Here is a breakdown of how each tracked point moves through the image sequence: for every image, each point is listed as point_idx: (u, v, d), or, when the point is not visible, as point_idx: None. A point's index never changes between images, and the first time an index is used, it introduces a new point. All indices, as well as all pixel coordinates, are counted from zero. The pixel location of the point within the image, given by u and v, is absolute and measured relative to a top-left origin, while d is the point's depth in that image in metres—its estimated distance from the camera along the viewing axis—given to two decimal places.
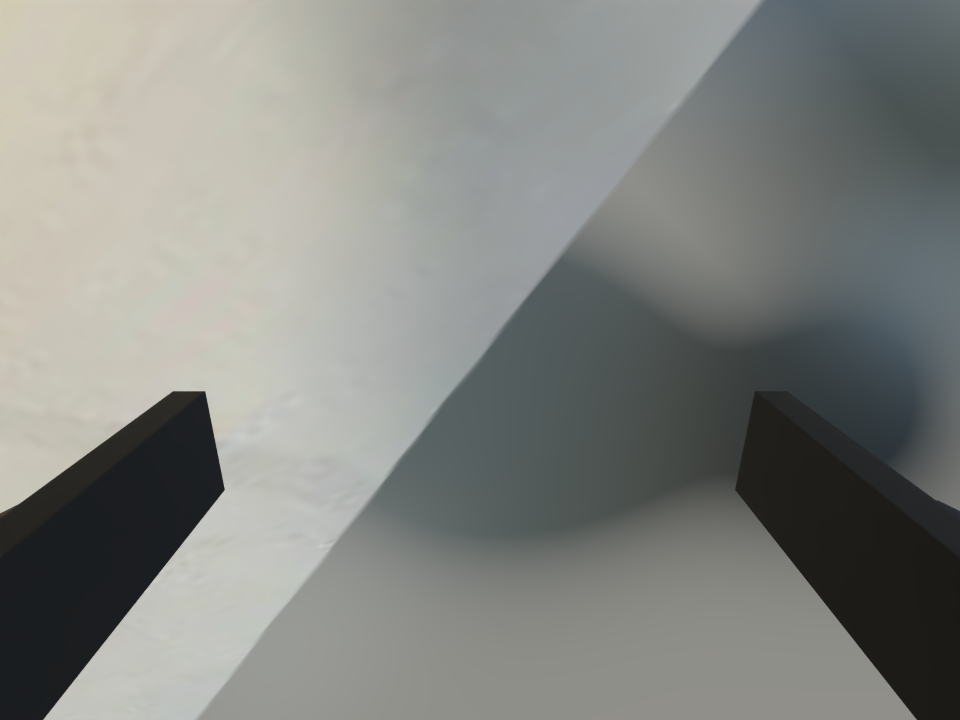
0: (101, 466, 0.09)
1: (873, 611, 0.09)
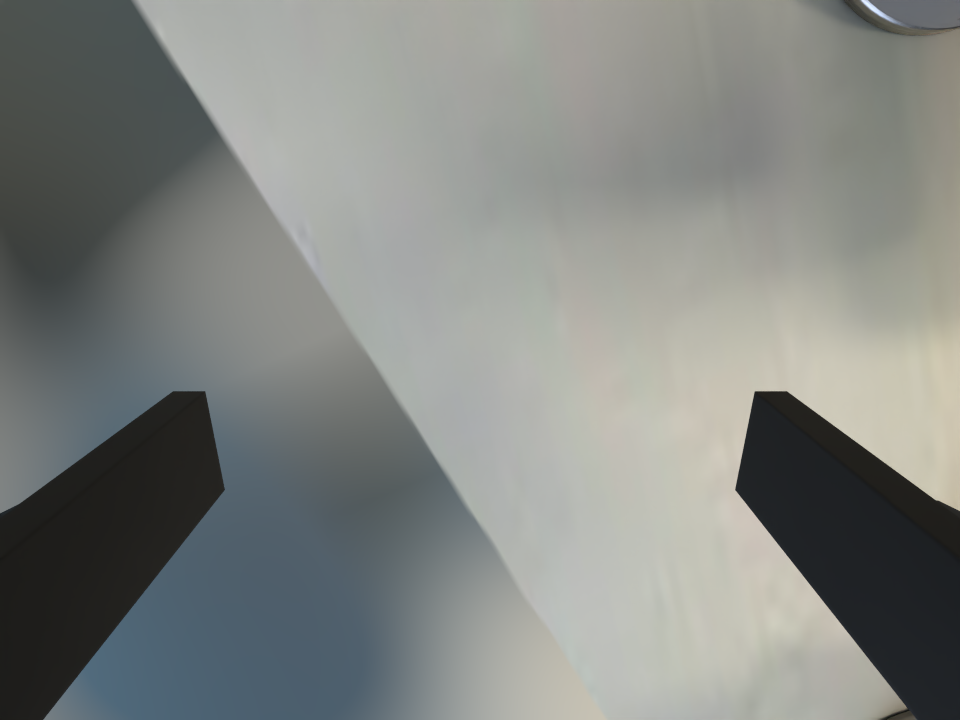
0: (101, 466, 0.09)
1: (873, 611, 0.09)
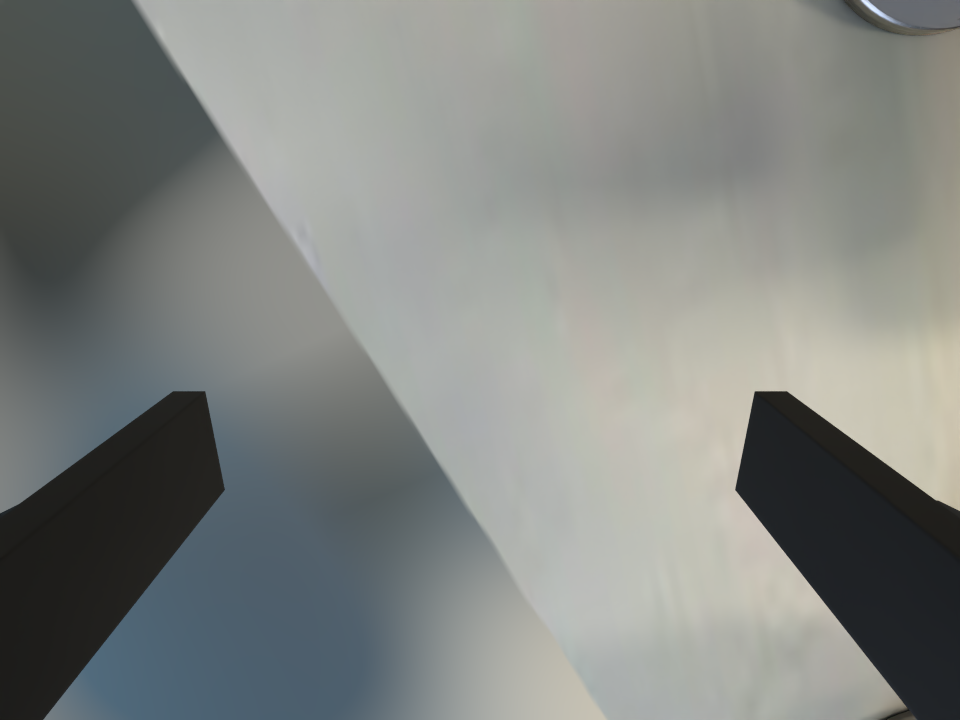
0: (101, 466, 0.09)
1: (873, 611, 0.09)
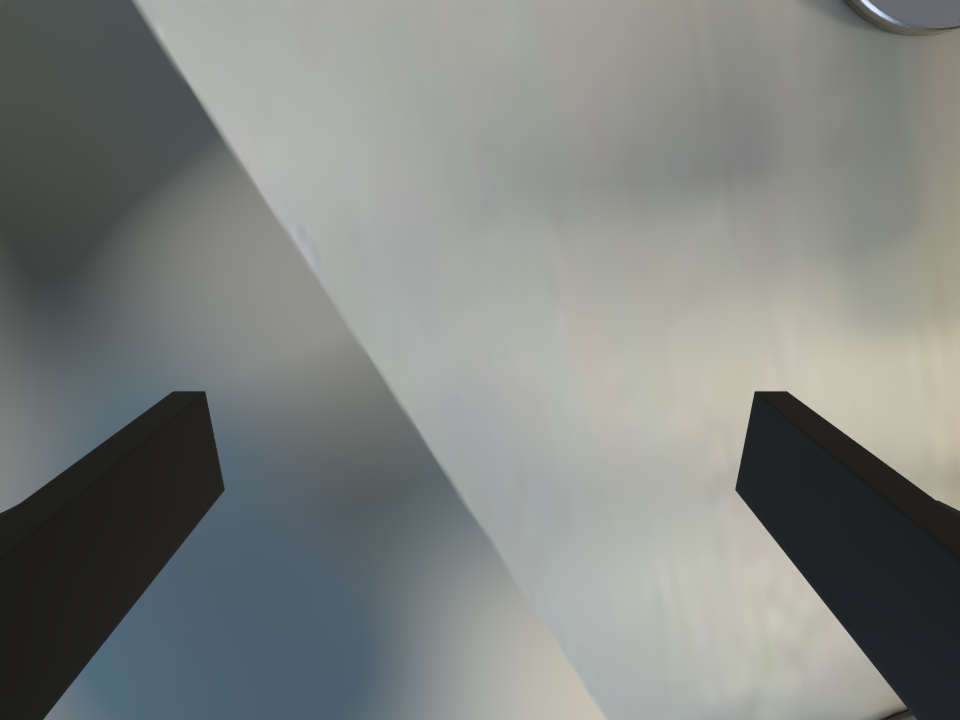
0: (101, 466, 0.09)
1: (873, 611, 0.09)
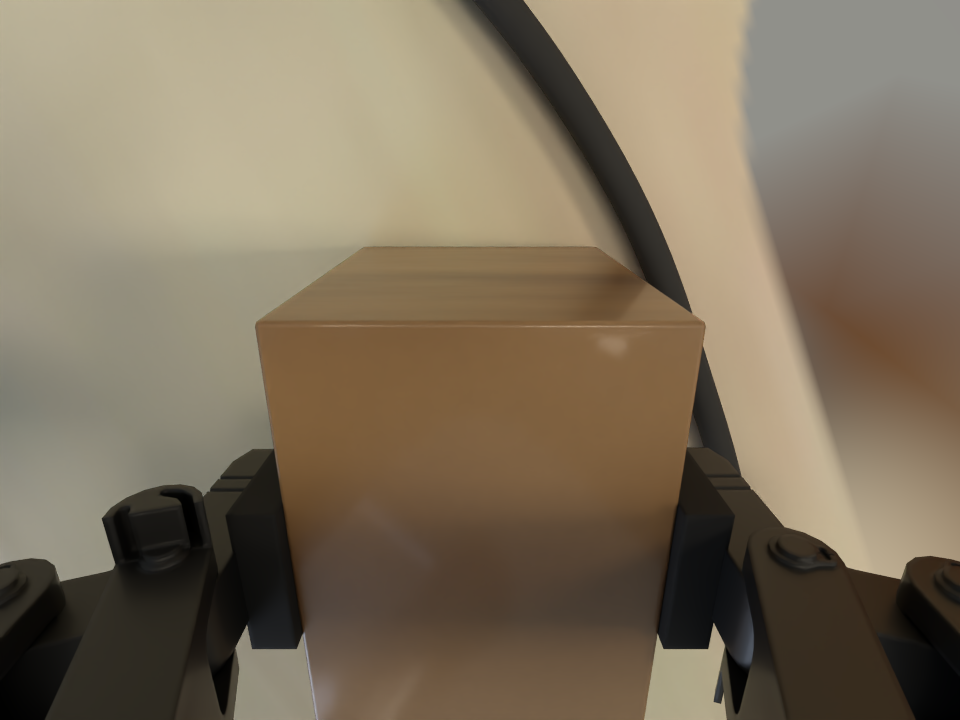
0: None
1: None
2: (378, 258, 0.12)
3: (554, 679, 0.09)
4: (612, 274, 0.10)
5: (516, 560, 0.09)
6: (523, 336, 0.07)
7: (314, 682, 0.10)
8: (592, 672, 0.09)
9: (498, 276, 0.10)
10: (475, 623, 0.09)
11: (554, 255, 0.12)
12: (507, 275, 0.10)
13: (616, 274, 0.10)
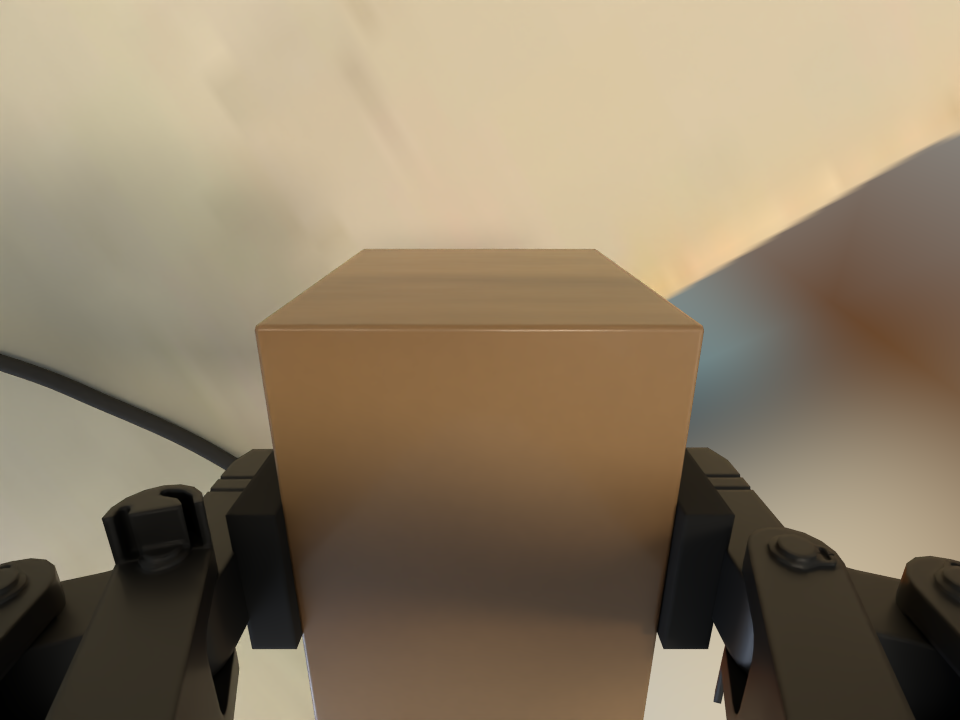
0: None
1: None
2: (378, 260, 0.12)
3: (552, 681, 0.09)
4: (611, 277, 0.10)
5: (516, 563, 0.09)
6: (522, 341, 0.07)
7: (314, 684, 0.10)
8: (590, 674, 0.09)
9: (497, 279, 0.10)
10: (475, 626, 0.09)
11: (553, 257, 0.12)
12: (506, 278, 0.10)
13: (615, 277, 0.10)
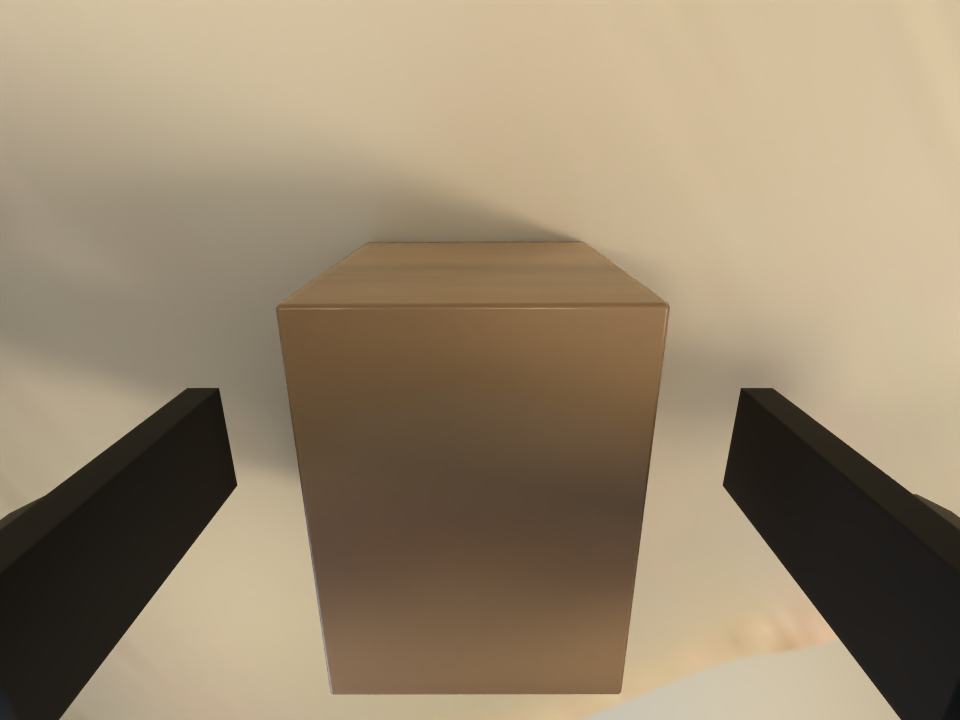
0: (121, 460, 0.09)
1: (850, 602, 0.09)
2: (381, 252, 0.13)
3: (541, 629, 0.10)
4: (594, 265, 0.11)
5: (507, 519, 0.10)
6: (509, 317, 0.08)
7: (326, 633, 0.11)
8: (575, 623, 0.10)
9: (491, 267, 0.11)
10: (471, 577, 0.10)
11: (544, 249, 0.13)
12: (499, 266, 0.11)
13: (598, 265, 0.11)
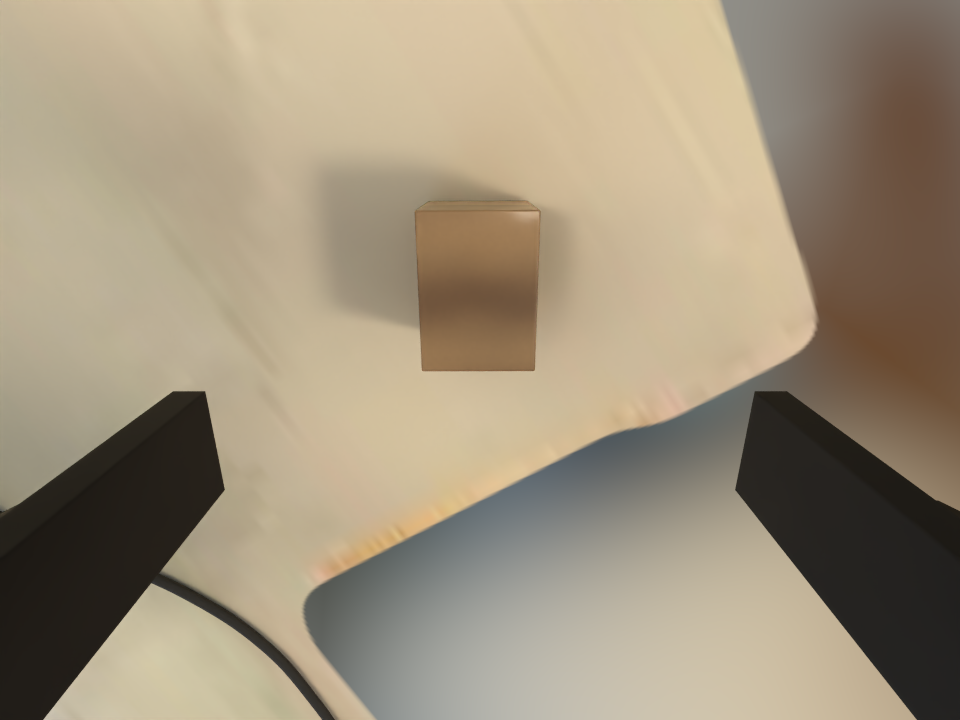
0: (101, 466, 0.09)
1: (872, 611, 0.09)
2: (438, 203, 0.31)
3: (502, 339, 0.28)
4: (524, 205, 0.29)
5: (489, 290, 0.27)
6: (489, 214, 0.26)
7: (422, 341, 0.28)
8: (515, 336, 0.28)
9: (484, 205, 0.29)
10: (476, 315, 0.28)
11: (507, 202, 0.31)
12: (487, 205, 0.29)
13: (526, 205, 0.29)
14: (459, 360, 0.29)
